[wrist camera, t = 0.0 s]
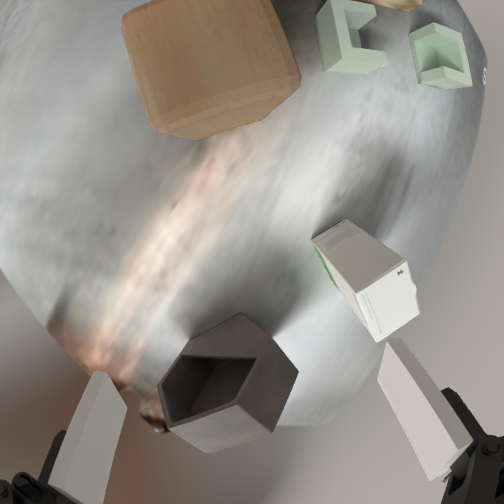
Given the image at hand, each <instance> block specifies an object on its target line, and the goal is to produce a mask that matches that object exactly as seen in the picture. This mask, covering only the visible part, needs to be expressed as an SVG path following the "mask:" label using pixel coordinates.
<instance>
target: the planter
mask: <svg viewBox="0 0 504 504" xmlns="http://www.w3.org/2000/svg"><path fill="white" fill-rule="evenodd" d="M298 373H299V371H298V370H297V368H296V367H295V366H294V365H293V363H292V362H291V361H290V360H289V358H288V357H287V356H286V355H285V353H284V352H283V351H282V350H281V348H280V347H279V346H278V344H277V343H276V342H275V341H274V339H273V338H272V337H271V336H270V335H268V334H267V333H266V332H265V331H264V330H262V329H261V328H260V327H259V326H257V325H256V324H255V323H254V322H252V321H251V320H250V319H249V318H248V317H246V316H245V315H244V314H243V313H239V314H237V315H235V316H234V317H232V318H230V319H228V320H226V321H224V322H223V323H221V324H219V325H217V326H215V327H213V328H212V329H210V330H208V331H206V332H204V333H202V334H200V335H198V336H197V337H195V338H193V339H191V340H189V341H188V343H187V344H186V346H185V347H184V348H183V350H182V351H181V353H180V354H179V356H178V357H177V358H176V360H175V361H174V363H173V364H172V365H171V367H170V368H169V370H168V371H167V373H166V374H165V375H164V377H163V378H162V380H161V381H160V382H159V384H158V385H157V389H158V393H159V397H160V401H161V405H162V409H163V413H164V417H165V421H166V424H167V428H168V429H169V430H171V431H172V432H174V433H175V434H177V435H178V436H180V437H181V438H183V439H184V440H186V441H187V442H189V443H190V444H192V445H194V446H195V447H197V448H198V449H200V450H202V451H203V452H205V453H207V454H208V453H212V452H215V451H219V450H222V449H226V448H229V447H232V446H236V445H239V444H242V443H245V442H248V441H251V440H254V439H257V438H260V437H262V436H265V435H268V434H271V433H272V432H273V430H274V428H275V426H276V424H277V422H278V420H279V418H280V415H281V413H282V411H283V409H284V406H285V404H286V402H287V399H288V397H289V395H290V392H291V390H292V387H293V385H294V383H295V380H296V378H297V375H298Z"/></svg>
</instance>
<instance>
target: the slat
mask: <svg viewBox="0 0 504 504" xmlns="http://www.w3.org/2000/svg"><path fill="white" fill-rule="evenodd" d="M358 1H363V2H368V3H373V4H377V5H381V6H385V7H389V8H393V9H396V10H400V11H403V12H409V11H411V10H412V9H414V8H416V7H418V6H419V5H421V4H422V1H421V0H358Z"/></svg>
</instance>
